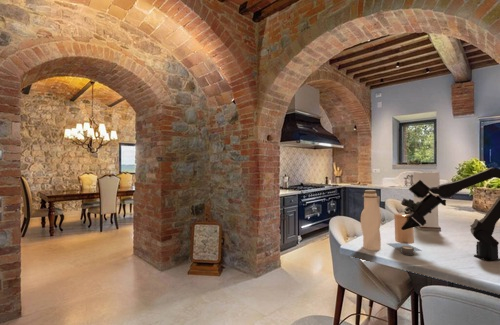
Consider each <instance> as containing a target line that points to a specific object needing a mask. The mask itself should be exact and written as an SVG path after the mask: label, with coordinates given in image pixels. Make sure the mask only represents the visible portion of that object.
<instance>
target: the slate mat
mask: <svg viewBox="0 0 500 325" xmlns="http://www.w3.org/2000/svg"><path fill="white" fill-rule="evenodd" d="M387 245H388V246H389V247H392V248H395V249H396V250H398V251H400V252H401V247H402V246H410V247H413V248H414V252H420V251H421V252H422V251H423V250H422V249H420V248H418V247H415V246H413V245H412V244H404V243H399V242H395V243H394V242H393V243H392V242H391V243H387Z"/></svg>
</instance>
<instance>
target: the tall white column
mask: <svg viewBox="0 0 500 325" xmlns="http://www.w3.org/2000/svg"><path fill="white" fill-rule="evenodd" d="M412 173H413V174H412V175H413V176H412V177H413V178H412V180H413V185H414V184H415V183H417V182H418V181H419V180H421V181H422V182H423V183H424V184H425V185H427V186H428V187H429V188H431V187H438V186H439V185H441V184H440V183H441V182H440V172H439V171H430V172H429V171H428V172H426V171H425V172H419V171H413V172H412ZM429 192H430V193H431V194H433V195H434V196H436V195H437V196H439V194H434V193H432V192H431V191H429ZM428 195H429V193H428V194H427V195H426V196H425V197H427V196H428ZM425 197H423V198H421V197H419V198H418V197H417V196H416V195H414V194H413V201H414V203H417V202H421V201H422V200H423V199H424V198H425ZM439 197H440V198H441V196H439ZM424 219H425V220H426V224H425V225H423V226H422V225H421V224H420V225H421V226H417V227H416V228H417V229H418V230H420V231H432V232H433V231H435V232H437V231H438V232H442V227H441V226H439V205H438V206H437V207H435V208H434V209H433V210H432V211H431V213H428V214H427V215H426V216H424Z"/></svg>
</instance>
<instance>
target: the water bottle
mask: <svg viewBox="0 0 500 325" xmlns="http://www.w3.org/2000/svg"><path fill="white" fill-rule="evenodd" d="M380 196H381V195H378V194H377V190H376V189H375V190H374V189H366V190H364V193H363V195H361V197H362V198H363V209H362V211H361V214H360V226H361V231H362V238H363V239H362V241H363V243H362V244H363V246H362V248H364V249H365V250H367V251H380V250H381V249H382V242H381V240H382V239H381V231H380V230H381V229H380V228H381V224H382V212H381V208H380V198H381V197H380Z"/></svg>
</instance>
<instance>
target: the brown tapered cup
mask: <svg viewBox="0 0 500 325" xmlns="http://www.w3.org/2000/svg"><path fill="white" fill-rule="evenodd" d="M408 215H409V216H411V215H410V214H405V213H395V214H394V216H393V217H394V240H395V243H404V244H409V245H413V244H414V243H415V235H414V233H415V231H414V230H415V227H413V228H409V229H405V230H402V229H401V228H402V226H403V225H404V224H405V223H406V222H407V221H408ZM411 217H412V216H411Z"/></svg>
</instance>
